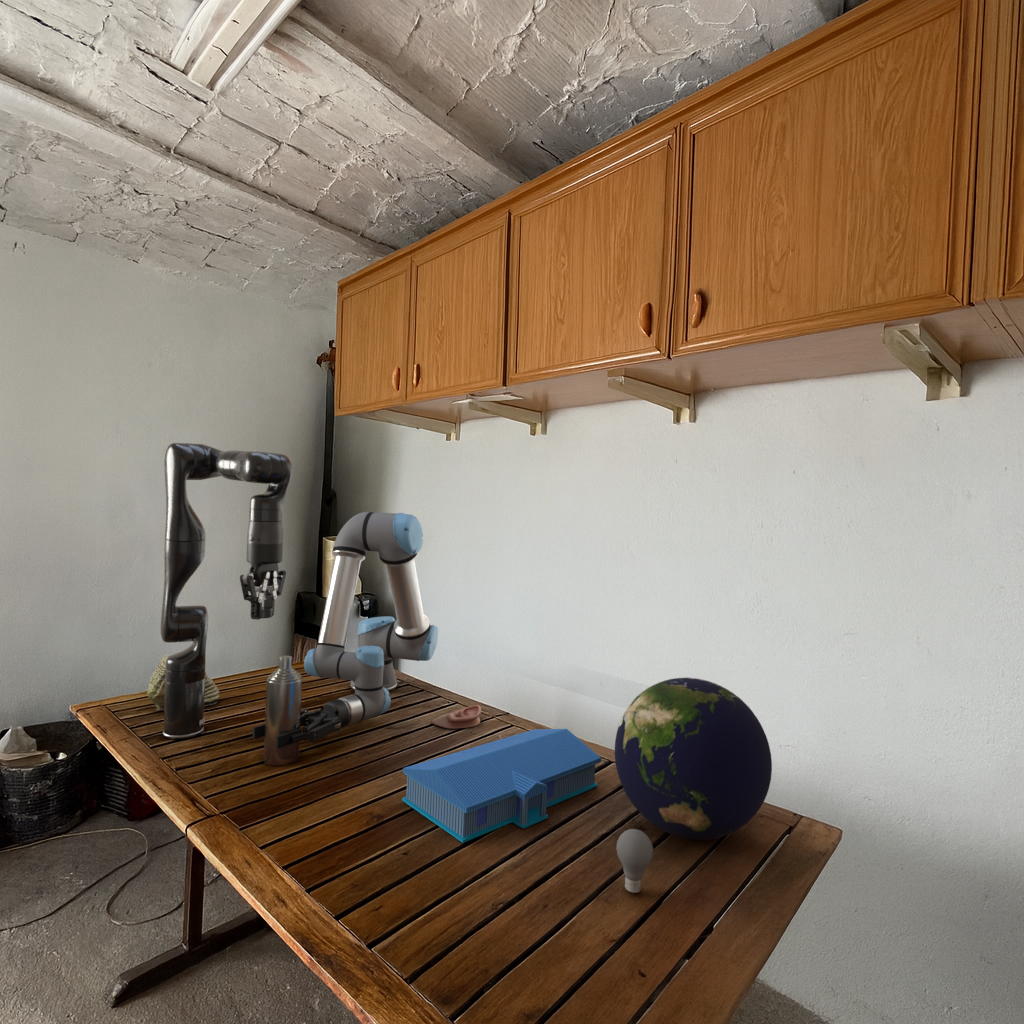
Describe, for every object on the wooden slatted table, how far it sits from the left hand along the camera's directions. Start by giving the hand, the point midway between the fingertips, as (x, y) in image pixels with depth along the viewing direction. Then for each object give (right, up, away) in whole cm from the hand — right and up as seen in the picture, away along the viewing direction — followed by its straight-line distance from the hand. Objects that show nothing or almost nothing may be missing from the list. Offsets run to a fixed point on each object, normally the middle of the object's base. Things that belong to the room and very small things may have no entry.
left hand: (262, 617), depth 142 cm
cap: (0, +2, 0) cm, 2 cm away
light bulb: (+76, -40, -37) cm, 94 cm away
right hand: (-2, -29, +5) cm, 30 cm away
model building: (+55, -38, -5) cm, 67 cm away
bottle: (+1, -36, +9) cm, 37 cm away
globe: (+91, -40, -16) cm, 101 cm away
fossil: (-40, -33, +42) cm, 67 cm away
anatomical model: (+40, -37, +39) cm, 67 cm away
